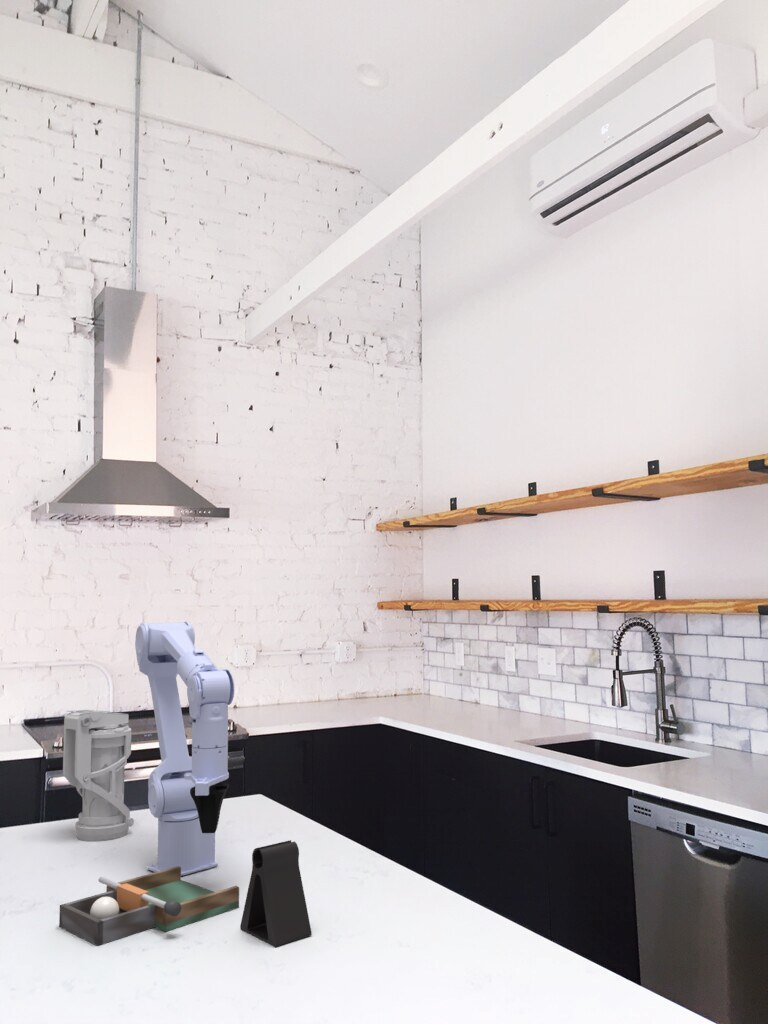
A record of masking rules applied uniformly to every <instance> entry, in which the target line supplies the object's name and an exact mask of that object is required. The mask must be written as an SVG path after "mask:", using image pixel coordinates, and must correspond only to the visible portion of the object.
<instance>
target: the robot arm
mask: <svg viewBox="0 0 768 1024" xmlns="http://www.w3.org/2000/svg"><path fill="white" fill-rule="evenodd" d="M194 629H195V628H194V627H193V625H192V624H191V622H189V621H183V622H156V623H155V622H152V623H151V622H150V623H146V622H141V623H140V624H139V625H138V626H137V628H136V632H135V640H134V641H135V642H134V645H135V653H136V660H137V665H138V669H139V673H141V674H144V675H145V676H147V679H148V683H149V687H150V692H151V700H152V706H153V712H154V719H155V726H156V734H157V740H158V746H159V754H160V759H161V763H160V764H159V765H157V766H156V767H155V768H154V769H153V770H152V772H151V773H150V775H149V778H148V781H147V783H148V784H147V786H148V791H147V792H148V793H147V798H148V799H147V802H148V808H149V811H150V813H151V815H152V816H153V817H154V818H157V819H158V821H157V822H158V823H157V863H154V864H151V865H147V867H146V869H147V870H149V871H151V872H152V873H155V872H159V871H162V870H166V869H170V868H173V867H177V866H179V867H181V877H182V876H183V877H184V876H187V875H189V874H193V873H197V872H201V871H203V870H207V869H210V868H214V867H218V862H216V832H217V828H218V825H219V822H220V815H221V809H222V806H223V802H224V798H225V795H226V794H227V791H228V789H229V783H227V782H223V781H226V780H228V779H229V778H230V773H229V771H228V768H229V767H228V766H229V764H228V763H229V761H228V760H229V759H228V757H229V755H228V754H229V752H228V751H229V706H230V705H231V704H232V702H233V701H234V697H235V680H234V676H233V674H232V673H231V670H230V669H228V668H225V669H222V668H221V669H219V668H218V667H217V665H216V664H215V663H214V662H213V661H212V659H211V658H210V657H209V655H208V654H207V653H206V652H205V651H204V650H203V649H202V648H196V647H195V639H196V637H195V630H194ZM178 675H179V677H180V678H181V680H182V681H183V683H184V684H185V686H186V687H187V688H186V694H187V695H186V696H187V701H188V704H189V705H188V706H189V717H190V718H191V719H192V722H191V723H192V727H191V729H192V730H191V735H192V736H191V756H190V755H189V754H190V753H189V748H188V742H187V735H186V731H185V730H186V729H185V724H184V719H183V718H184V717H183V713H182V712H183V711H182V706H181V705H182V704H181V700H180V694H179V693H180V692H179V688H178V682H177V677H178ZM222 782H223V783H222Z"/></svg>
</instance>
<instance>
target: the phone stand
mask: <svg viewBox="0 0 768 1024" xmlns="http://www.w3.org/2000/svg"><path fill="white" fill-rule="evenodd" d="M251 855H252V856H251V860H252V861H251V862H252V863H251V864H252V865H251V866H252V868H251V869H252V870H251V875H250V878H249V883H248V889H247V893H246V898H245V902H244V907H243V913H242V918H241V922H240V930H241V931H243V932H244V933H246V934H249V935H250V936H252V937H254V938H256V939H258V940H260V941H261V942H264V943H266V944H268V945H270V946H271V947H274V948H277V947H280V946H283V945H286V944H290V943H293V942H296V941H298V940H299V941H300V940H301V939H305V938H308V937H312V935H313V934H312V928H311V923H310V917H309V912H308V907H307V901H306V896H305V891H304V890H305V889H304V885H303V881H302V876H301V870H300V864H299V862H300V861H299V860H300V859H299V858H300V849H299V846H298V843H297V842H296V841H292V840H291V839H290V840H286V841H281V842H278V843H272V844H269V845H264V846H260V847H256V848H254V849H253V851H252V854H251Z"/></svg>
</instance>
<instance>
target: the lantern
mask: <svg viewBox="0 0 768 1024" xmlns="http://www.w3.org/2000/svg"><path fill="white" fill-rule="evenodd" d="M66 712H68V713H67V714H65V716H64V719H63V723H64V724H63V756H62V757H63V758H62V775H63V777H64V778H65V779H66V781H67V782H68V783H69V784H70V786H73V787H75V788H76V791H77V794H79V795H80V797H81V798H82V799H81V800H82V806H81V807H82V809H81V812H79V814H78V821H76V822H75V824H74V826H75V833H76V837H77V839H79V840H80V841H86V842H105V841H111V840H116V839H119V838H122V837H125V836H126V835H127V834H128V831H129V828H131V827H132V826H133V825H135V824H134V823H135V819H134V818H132V817H130V816H131V811H130V809H129V807H128V806H127V805H126V804H125V802H124V800H125V798H124V797H125V767H126V765H127V764H128V763H127V761H128V760H127V759H129V757H130V756H131V754H132V728H131V727H130V726H129V720H130V719H129V713H122V712H114V711H110V712H108V711H106V710H105V711H104V710H95V709H76V710H66Z"/></svg>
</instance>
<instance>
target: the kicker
mask: <svg viewBox="0 0 768 1024" xmlns="http://www.w3.org/2000/svg"><path fill="white" fill-rule="evenodd" d="M97 880H98V881H97V882H99V883H100V884H102V885H106V886H107V885H108V886H110V887H113V888H115V889H117V903H118V905H119V908H121V909H123V910H125V911H131V910H134V909H137V908H141V907H144V906H147V905H149V902H150V903H152V904H155V905H157V906H160V907H162V908H164V912H165V913H166V914H169V915H171V916H177V915H178V914H179V913H180V911H181V904H180V903H178V902H175V901H173V900H168V901H167V902H164V901H162V900H159V899H157V898H154V897H152V896H149V892H148V891H145V890H143V889H140V888H138V887H135V886H133V885H130V884H127V883H125V884H122V885H121V884H119V883H118V882H116V881H113V880H111V879H108V878H105V877H103V876H100V877H98V879H97Z"/></svg>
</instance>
